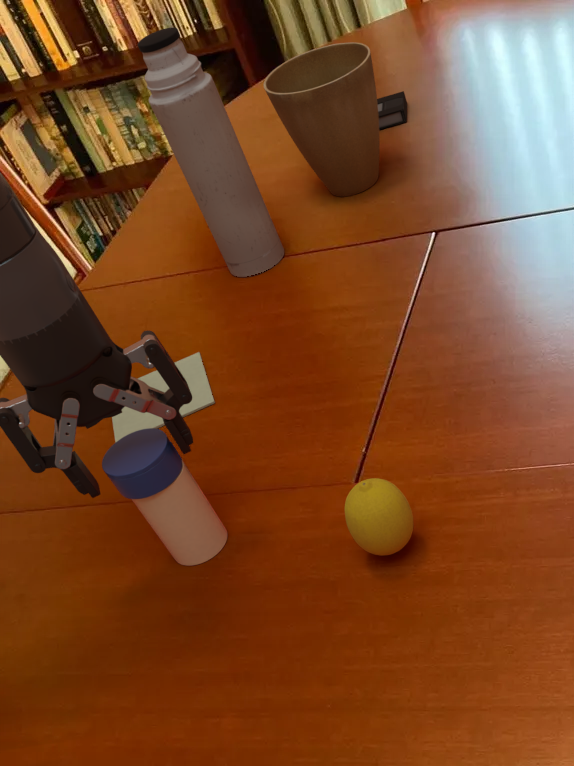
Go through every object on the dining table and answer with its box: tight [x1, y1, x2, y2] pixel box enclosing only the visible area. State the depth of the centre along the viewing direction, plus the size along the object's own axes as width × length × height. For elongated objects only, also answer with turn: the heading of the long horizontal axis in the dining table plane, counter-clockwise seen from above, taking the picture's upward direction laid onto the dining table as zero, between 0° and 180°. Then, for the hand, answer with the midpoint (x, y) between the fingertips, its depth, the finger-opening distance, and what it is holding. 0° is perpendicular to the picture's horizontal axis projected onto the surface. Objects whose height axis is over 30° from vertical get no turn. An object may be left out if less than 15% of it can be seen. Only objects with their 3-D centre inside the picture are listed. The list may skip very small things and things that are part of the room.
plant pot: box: [262, 41, 380, 197], centre depth 122 cm, size 15×15×16 cm
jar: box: [130, 459, 228, 567], centre depth 80 cm, size 6×6×12 cm
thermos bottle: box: [137, 26, 285, 278], centre depth 110 cm, size 8×8×28 cm
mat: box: [111, 351, 216, 444], centre depth 103 cm, size 12×12×1 cm
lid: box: [101, 428, 183, 500], centre depth 76 cm, size 6×6×3 cm
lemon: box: [344, 477, 414, 556], centre depth 74 cm, size 6×6×8 cm
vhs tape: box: [377, 91, 408, 131], centre depth 141 cm, size 8×14×2 cm, turn 91°
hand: (141, 469), depth 76 cm, fingers open, 8 cm apart
